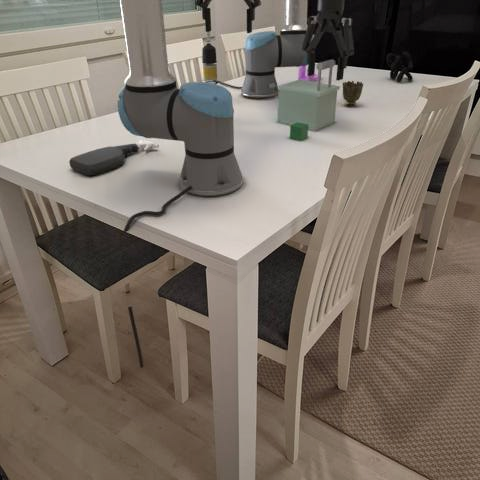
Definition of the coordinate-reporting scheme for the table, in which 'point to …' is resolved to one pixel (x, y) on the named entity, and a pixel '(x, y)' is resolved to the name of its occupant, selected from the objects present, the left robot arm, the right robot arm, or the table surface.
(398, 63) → the squiggle
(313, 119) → the chest
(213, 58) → the filter
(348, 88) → the cup
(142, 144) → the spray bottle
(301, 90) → the lid
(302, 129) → the block
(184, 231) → the table surface
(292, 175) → the table surface
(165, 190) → the table surface
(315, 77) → the bracket
